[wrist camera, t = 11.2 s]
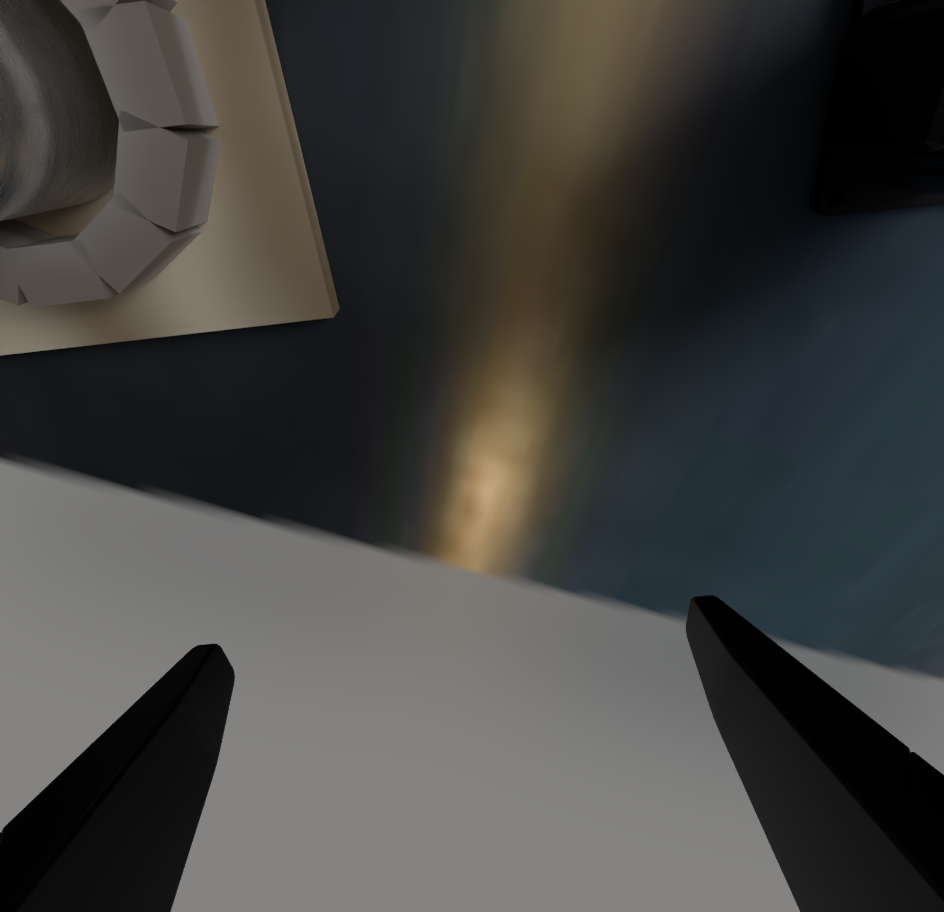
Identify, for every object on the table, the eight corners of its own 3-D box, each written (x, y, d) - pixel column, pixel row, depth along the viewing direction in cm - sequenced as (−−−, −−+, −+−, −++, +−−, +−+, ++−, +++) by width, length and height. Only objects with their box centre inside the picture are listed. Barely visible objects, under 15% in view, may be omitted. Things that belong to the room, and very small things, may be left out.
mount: (185, -324, 10) (100, -474, 8) (339, 308, 17) (319, 337, 15) (-415, -233, 11) (-683, -349, 8) (-31, 351, 18) (-112, 386, 15)
